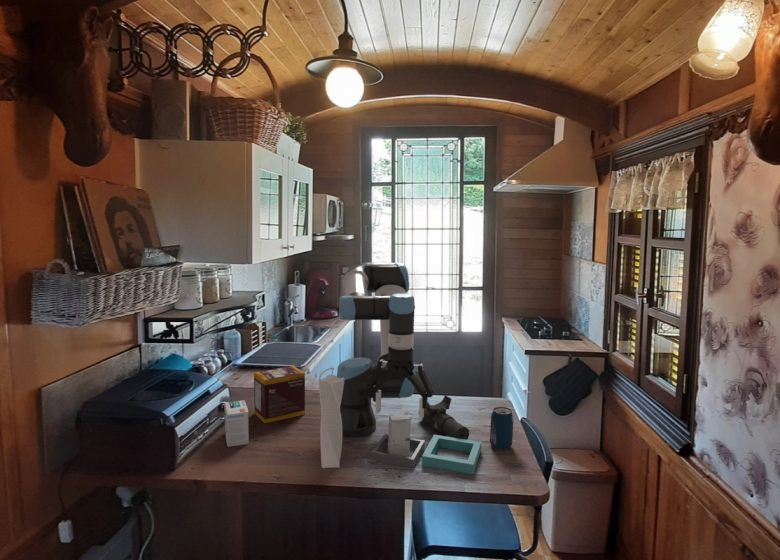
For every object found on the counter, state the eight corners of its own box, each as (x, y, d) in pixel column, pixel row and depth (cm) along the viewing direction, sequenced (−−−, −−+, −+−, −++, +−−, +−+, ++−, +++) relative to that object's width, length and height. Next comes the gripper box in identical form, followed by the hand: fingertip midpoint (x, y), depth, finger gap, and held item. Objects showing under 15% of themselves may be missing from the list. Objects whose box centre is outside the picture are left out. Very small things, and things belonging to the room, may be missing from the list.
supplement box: (305, 414, 187) (305, 372, 185) (264, 424, 178) (263, 380, 176) (294, 405, 196) (293, 365, 193) (254, 413, 187) (253, 371, 185)
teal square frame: (421, 465, 152) (422, 455, 152) (433, 443, 166) (434, 434, 166) (473, 474, 147) (473, 464, 147) (480, 451, 162) (481, 442, 161)
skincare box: (390, 458, 156) (391, 420, 154) (387, 451, 160) (387, 414, 158) (410, 456, 157) (411, 418, 156) (406, 449, 162) (407, 412, 160)
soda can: (514, 444, 166) (516, 409, 164) (507, 453, 160) (509, 416, 159) (494, 439, 170) (495, 404, 168) (486, 447, 164) (488, 411, 162)
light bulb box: (224, 433, 171) (223, 402, 169) (245, 430, 173) (244, 399, 172) (227, 447, 161) (226, 414, 159) (249, 444, 164) (248, 411, 162)
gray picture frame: (371, 460, 155) (371, 452, 154) (385, 441, 167) (385, 434, 167) (413, 467, 151) (413, 459, 150) (424, 447, 163) (424, 440, 163)
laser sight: (449, 447, 164) (450, 417, 162) (412, 421, 183) (412, 394, 182) (473, 441, 168) (475, 412, 167) (435, 416, 188) (436, 389, 186)
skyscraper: (319, 456, 156) (319, 366, 152) (344, 455, 157) (344, 366, 153) (317, 469, 149) (317, 375, 144) (343, 469, 149) (344, 375, 145)
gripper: (356, 345, 154) (356, 413, 157) (439, 354, 146) (437, 425, 149) (365, 339, 161) (365, 405, 164) (445, 347, 153) (442, 416, 156)
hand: (399, 415), depth 157 cm, fingers open, 13 cm apart
